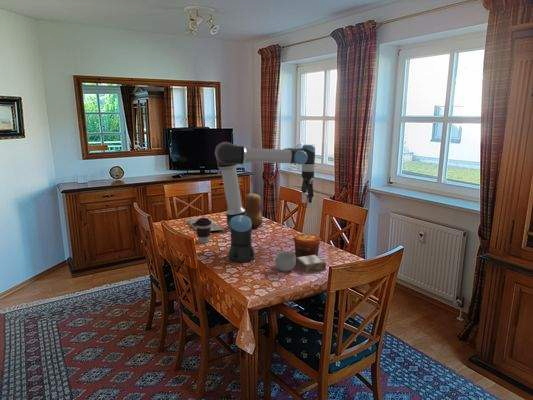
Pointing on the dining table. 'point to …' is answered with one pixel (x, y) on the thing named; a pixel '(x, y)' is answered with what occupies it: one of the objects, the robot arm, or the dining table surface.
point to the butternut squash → (253, 209)
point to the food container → (306, 244)
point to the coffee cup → (203, 230)
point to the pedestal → (310, 263)
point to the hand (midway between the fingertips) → (306, 205)
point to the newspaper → (213, 224)
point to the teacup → (285, 261)
